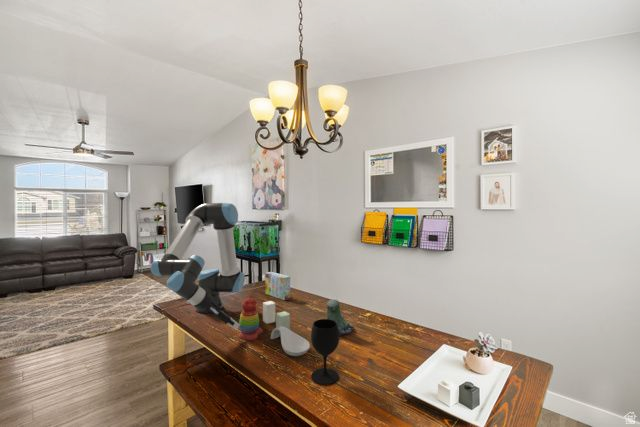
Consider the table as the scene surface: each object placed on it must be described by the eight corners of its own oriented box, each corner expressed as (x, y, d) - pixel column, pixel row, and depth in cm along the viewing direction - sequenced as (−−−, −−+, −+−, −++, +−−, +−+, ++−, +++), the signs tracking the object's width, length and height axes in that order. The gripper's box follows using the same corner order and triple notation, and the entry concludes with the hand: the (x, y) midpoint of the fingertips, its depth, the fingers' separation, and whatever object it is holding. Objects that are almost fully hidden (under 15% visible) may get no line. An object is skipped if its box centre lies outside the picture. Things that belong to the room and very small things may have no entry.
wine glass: (310, 369, 114) (310, 318, 113) (336, 368, 115) (337, 317, 114) (311, 386, 104) (311, 330, 103) (341, 384, 105) (341, 329, 104)
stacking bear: (255, 341, 137) (255, 303, 136) (235, 339, 139) (234, 301, 138) (264, 330, 148) (263, 295, 147) (245, 329, 149) (244, 294, 149)
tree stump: (360, 325, 155) (359, 295, 150) (345, 351, 138) (343, 318, 133) (329, 317, 164) (327, 288, 158) (311, 340, 147) (308, 309, 142)
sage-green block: (276, 333, 145) (275, 313, 144) (285, 330, 148) (284, 311, 147) (280, 337, 141) (280, 316, 140) (290, 334, 144) (289, 314, 143)
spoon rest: (315, 353, 126) (315, 337, 126) (292, 363, 118) (292, 346, 118) (284, 334, 144) (284, 320, 144) (263, 342, 136) (262, 326, 136)
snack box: (290, 298, 196) (290, 276, 195) (284, 301, 192) (284, 278, 191) (271, 292, 210) (271, 271, 210) (264, 293, 206) (264, 272, 205)
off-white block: (262, 320, 160) (262, 302, 160) (271, 318, 163) (271, 300, 163) (266, 323, 156) (266, 305, 156) (275, 321, 159) (275, 303, 158)
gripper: (190, 301, 133) (228, 328, 143) (196, 310, 123) (236, 339, 133) (202, 287, 136) (238, 315, 146) (209, 295, 125) (248, 325, 135)
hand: (237, 327), depth 139 cm, fingers closed
